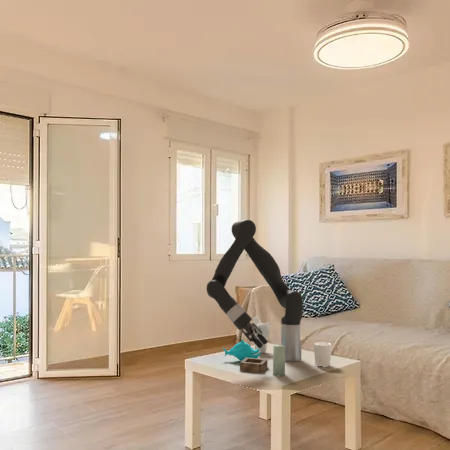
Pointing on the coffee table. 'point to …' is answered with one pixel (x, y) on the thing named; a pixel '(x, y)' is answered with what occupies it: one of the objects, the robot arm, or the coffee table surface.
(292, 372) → the coffee table surface
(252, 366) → the socket base
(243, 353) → the toy shark
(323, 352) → the white cup
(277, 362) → the post
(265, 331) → the shell sculpture
